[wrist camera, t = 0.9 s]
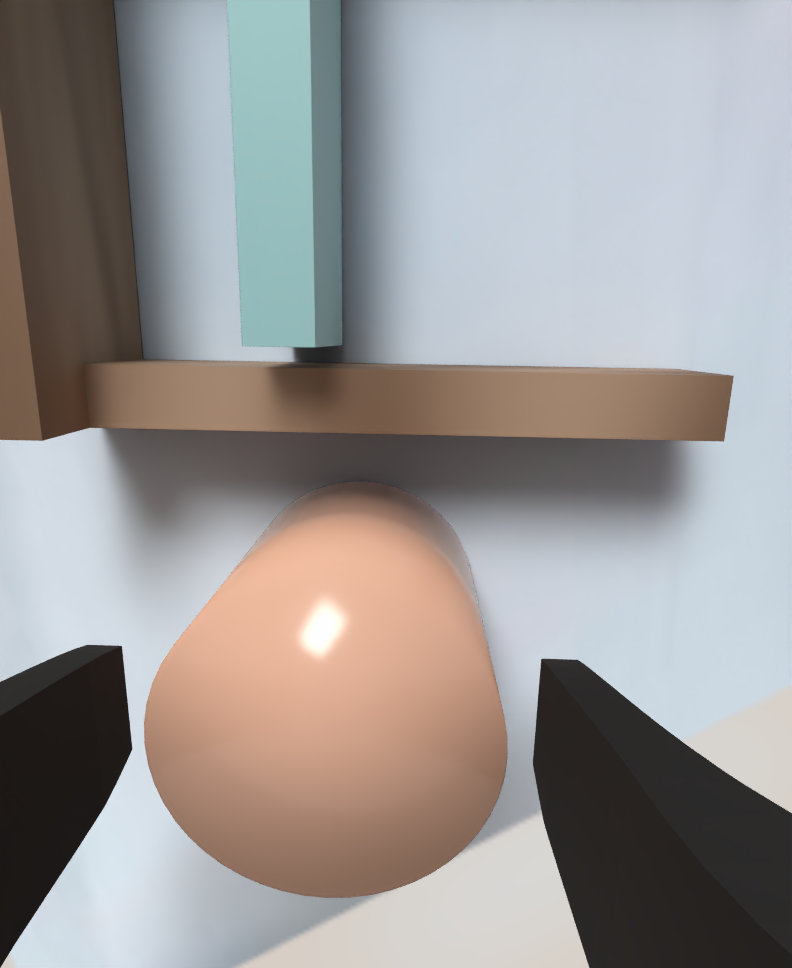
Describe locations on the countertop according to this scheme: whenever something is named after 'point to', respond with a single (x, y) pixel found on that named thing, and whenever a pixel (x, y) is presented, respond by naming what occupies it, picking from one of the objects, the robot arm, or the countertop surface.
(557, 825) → the robot arm
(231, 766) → the tan rounded cylinder
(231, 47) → the plate
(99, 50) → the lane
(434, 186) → the countertop surface
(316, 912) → the countertop surface
